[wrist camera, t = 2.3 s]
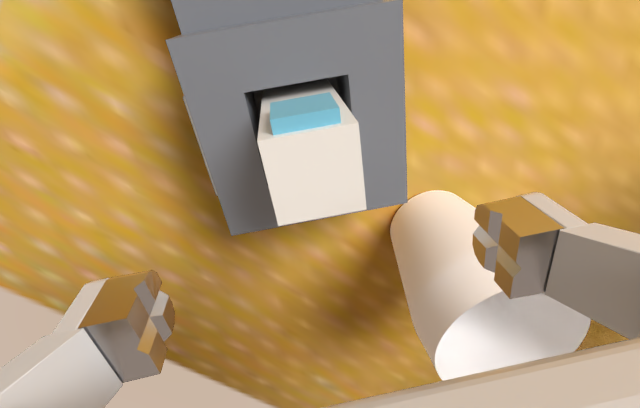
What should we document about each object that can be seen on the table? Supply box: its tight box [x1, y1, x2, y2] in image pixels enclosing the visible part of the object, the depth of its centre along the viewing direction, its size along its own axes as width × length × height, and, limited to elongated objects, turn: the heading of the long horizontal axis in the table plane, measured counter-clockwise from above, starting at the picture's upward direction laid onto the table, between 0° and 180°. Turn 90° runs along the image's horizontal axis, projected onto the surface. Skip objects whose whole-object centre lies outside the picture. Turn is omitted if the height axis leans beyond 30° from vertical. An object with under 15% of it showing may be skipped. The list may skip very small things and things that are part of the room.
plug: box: [257, 78, 367, 226], centre depth 17 cm, size 4×4×9 cm
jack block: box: [165, 0, 407, 236], centre depth 18 cm, size 10×20×7 cm, turn 8°
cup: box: [390, 190, 591, 381], centre depth 24 cm, size 9×9×12 cm
